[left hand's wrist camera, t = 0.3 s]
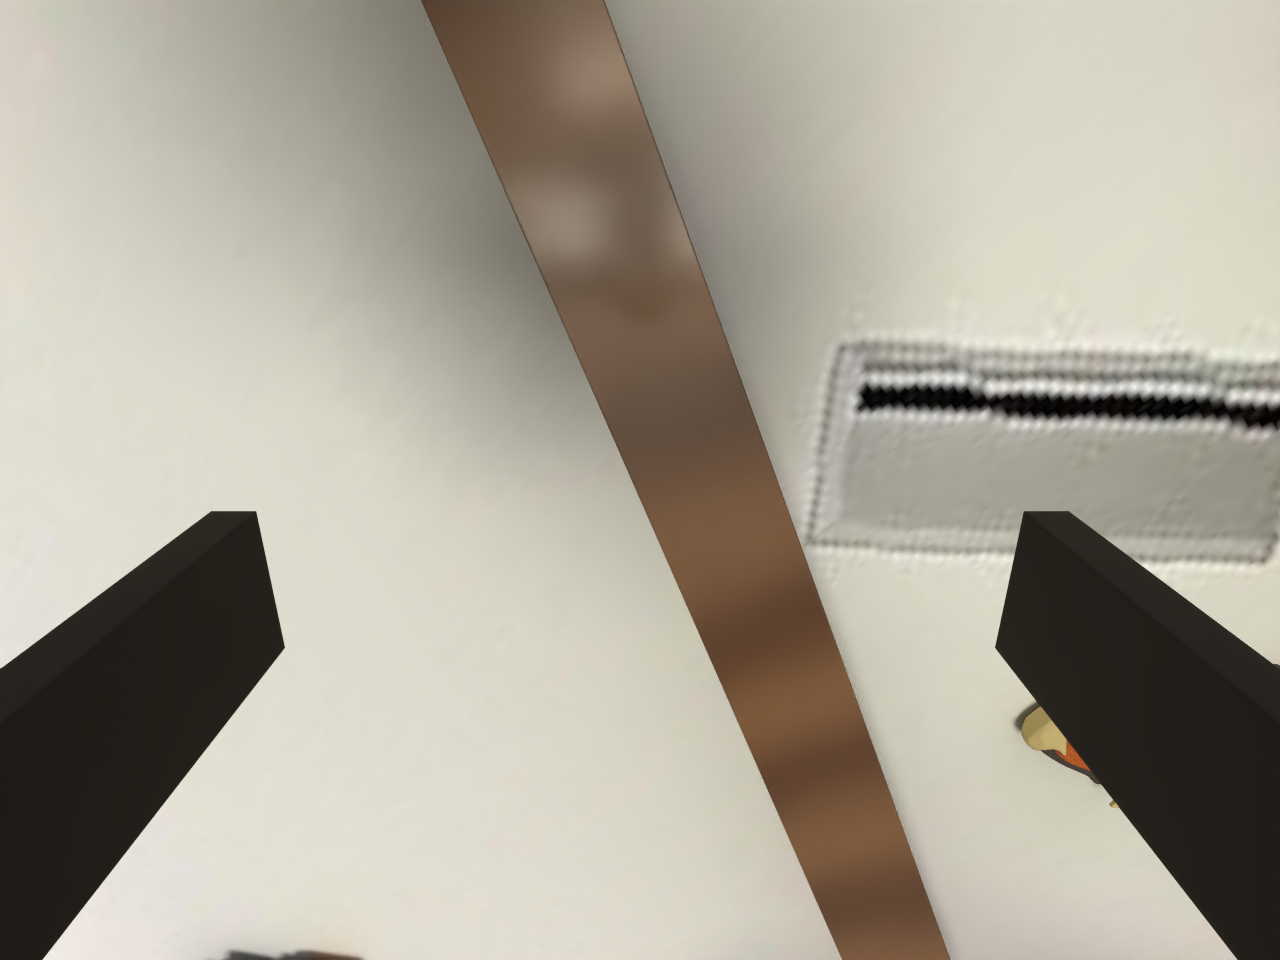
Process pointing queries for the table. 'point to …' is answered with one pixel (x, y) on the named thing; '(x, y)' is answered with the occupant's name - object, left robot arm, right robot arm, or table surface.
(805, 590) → the post
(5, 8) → the table surface
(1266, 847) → the left robot arm
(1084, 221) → the table surface
